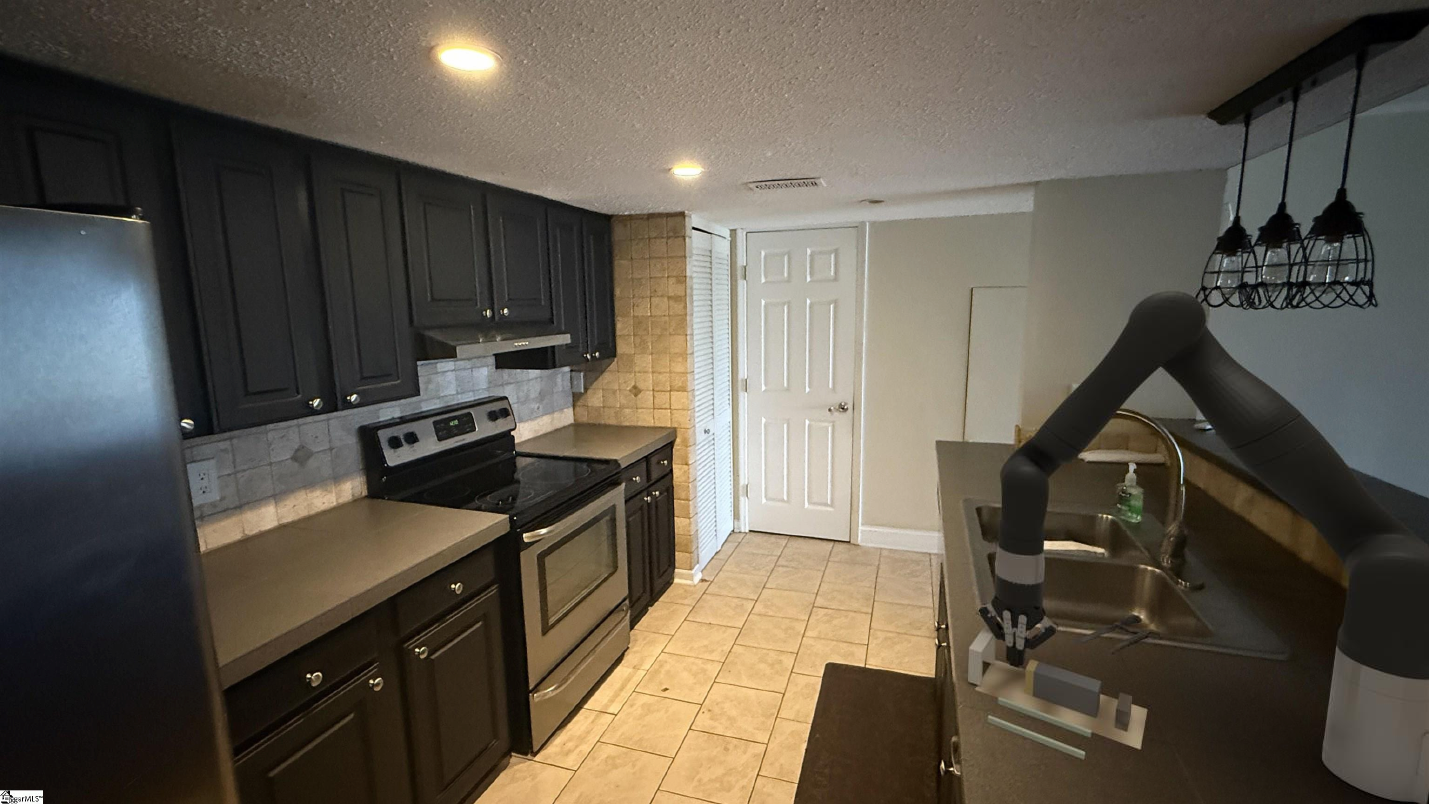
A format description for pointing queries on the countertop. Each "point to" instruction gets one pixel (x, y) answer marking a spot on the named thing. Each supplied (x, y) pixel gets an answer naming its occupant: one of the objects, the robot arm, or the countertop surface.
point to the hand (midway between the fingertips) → (1015, 664)
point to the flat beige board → (1111, 720)
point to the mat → (1036, 736)
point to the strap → (981, 655)
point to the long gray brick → (1063, 688)
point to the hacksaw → (1122, 625)
